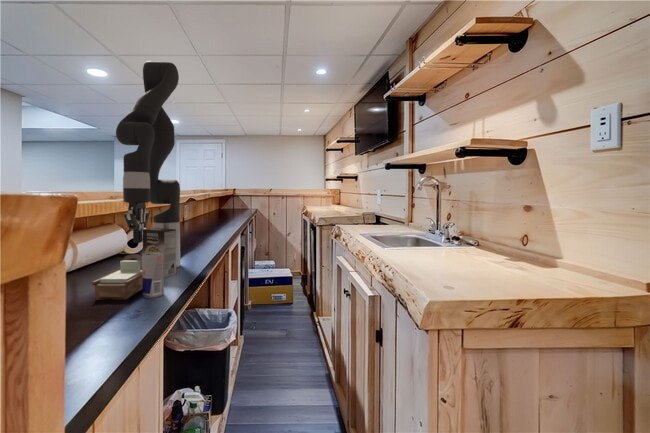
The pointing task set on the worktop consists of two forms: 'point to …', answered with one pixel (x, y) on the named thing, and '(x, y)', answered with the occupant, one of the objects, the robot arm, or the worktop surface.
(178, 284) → the worktop surface
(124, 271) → the lid
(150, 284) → the energy drink
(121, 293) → the walnut box
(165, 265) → the coffee box
